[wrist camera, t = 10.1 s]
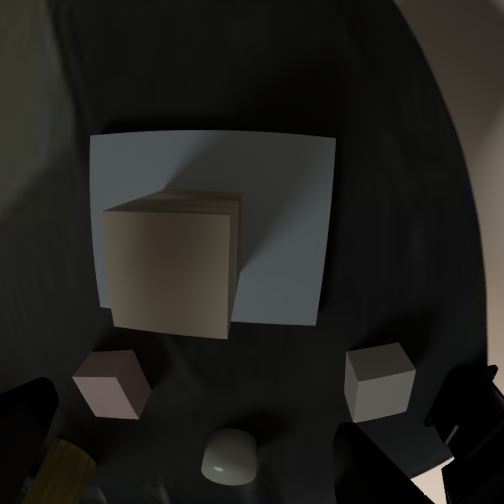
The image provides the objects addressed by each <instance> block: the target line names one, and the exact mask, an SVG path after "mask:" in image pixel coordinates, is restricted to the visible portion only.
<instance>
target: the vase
mask: <svg viewBox="0 0 504 504" xmlns="http://www.w3.org/2000/svg"><path fill="white" fill-rule="evenodd" d="M96 468H97V464H96V462H95V460H94V459H93V458H92V456H91V455H90V454H89V453H87V452H86V451H85V450H84V449H82V448H81V447H79V446H78V445H76V444H74V443H72V442H70V441H67V440H64V439H55V440H54V442H53V444H52V446H51V448H50V450H49V452H48V454H47V456H46V457H45V459H44V461H43V463H42V465H41V467H40V469H39V471H38V473H37V475H36V477H35V479H34V481H33V483H32V485H31V486H30V488H29V490H28V492H27V495H26V497H25V498H24V500H23V502H22V503H21V504H78V502H79V500H80V498H81V496H82V494H83V492H84V490H85V488H86V486H87V484H88V482H89V479H90V477H91V475H92V474H93V472H94V471H95V470H96Z"/></svg>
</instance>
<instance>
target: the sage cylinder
mask: <svg viewBox="0 0 504 504" xmlns="http://www.w3.org/2000/svg"><path fill="white" fill-rule="evenodd" d="M256 456H257V442H256V439H255V438H254V437H253V436H252V435H251V434H249V433H247V432H245V431H242V430H239V429H233V428H224V429H219V430H216V431H213V432H212V433H210V434H209V436H208V438H207V442H206V448H205V453H204V458H203V463H202V473H203V475H204V476H205V477H207V478H208V479H210V480H212V481H214V482H216V483H220V484H225V485H241V484H245V483H248V482H250V481H252V480H253V479H254V478H255V476H256Z"/></svg>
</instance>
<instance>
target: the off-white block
mask: <svg viewBox="0 0 504 504" xmlns="http://www.w3.org/2000/svg"><path fill="white" fill-rule="evenodd" d="M415 372H416V369H415V367H414V366H413V364H412V363H411V361H410V360H409V358H408V356H407V355H406V353H405V352H404V350H403V349H402V347H401V346H400V344H399V342H398V343H393V344H388V345H382V346H377V347H371V348H365V349H359V350H353V351H347V352H346V373H345V389H344V393H345V396H346V400H347V403H348V406H349V410H350V413H351V417H352V420H353V422H354V423H356V422H361V421H366V420H371V419H376V418H380V417H385V416H389V415H393V414H397V413H401V412H405V411H406V409H407V405H408V402H409V398H410V394H411V389H412V385H413V381H414V376H415Z"/></svg>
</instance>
